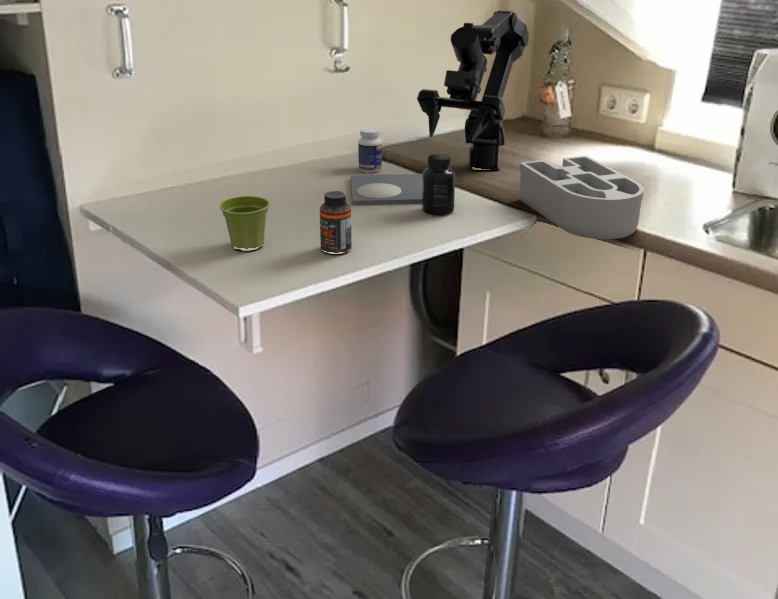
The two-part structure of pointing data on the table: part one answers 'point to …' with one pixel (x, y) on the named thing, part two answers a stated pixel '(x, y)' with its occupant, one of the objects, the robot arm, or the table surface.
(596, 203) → the grey compartment organizer
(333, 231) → the supplement bottle
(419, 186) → the board
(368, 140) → the pill bottle
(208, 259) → the table surface
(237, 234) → the plant pot
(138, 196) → the table surface
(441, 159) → the supplement bottle
